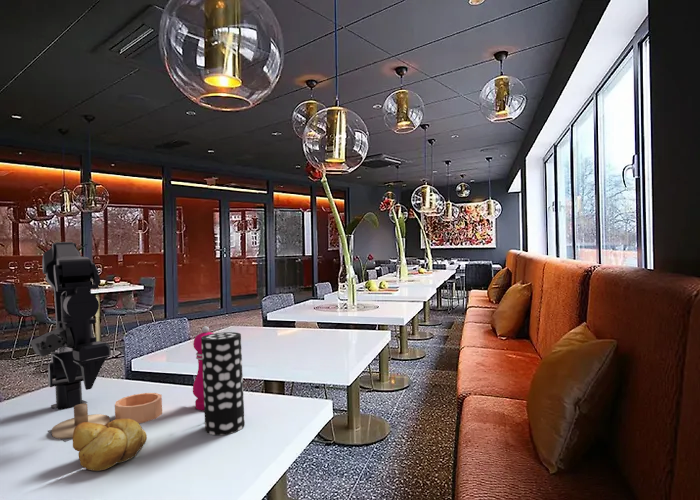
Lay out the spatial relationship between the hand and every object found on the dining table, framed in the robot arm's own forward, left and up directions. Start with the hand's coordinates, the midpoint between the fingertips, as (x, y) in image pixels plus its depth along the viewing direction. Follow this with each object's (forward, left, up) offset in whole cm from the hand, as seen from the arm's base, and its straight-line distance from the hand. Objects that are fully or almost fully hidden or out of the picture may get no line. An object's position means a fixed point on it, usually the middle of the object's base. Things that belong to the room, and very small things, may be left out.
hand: (79, 385), depth 99 cm
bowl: (+4, +11, -10) cm, 15 cm away
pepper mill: (+11, +25, -10) cm, 29 cm away
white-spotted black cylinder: (+26, +19, -10) cm, 34 cm away
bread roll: (+21, -2, -10) cm, 23 cm away
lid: (0, 0, -9) cm, 9 cm away
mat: (0, 0, -10) cm, 10 cm away
